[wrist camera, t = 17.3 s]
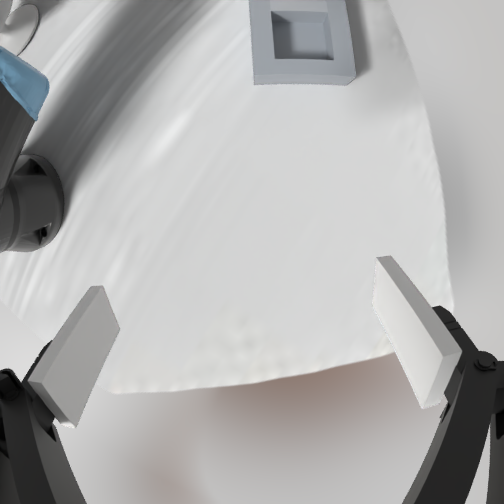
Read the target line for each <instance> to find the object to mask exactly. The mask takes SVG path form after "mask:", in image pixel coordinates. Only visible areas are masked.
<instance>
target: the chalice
mask: <svg viewBox="0 0 504 504" xmlns="http://www.w3.org/2000/svg"><path fill="white" fill-rule="evenodd" d="M12 1H13V0H0V46H2V47H3V48H5V49H7V50H8V51H10V52H11V53H13V54H14V55H16V56H17V55H18V54H19V53H21V51H22V50H23V49H24V48H25V47H26V45H27V44H28V42H29V41H30V39H31V38H32V36H33V34H34V32H35V29H36V27H37V24H38V19H39V12H38V9H37V7H36V6H34V5H32V4H27V5H23V6H21V7H19V8H18V9H16V10H15V11H13V12H12V13H11V14H10V15H9V13H10V10H11V6H12ZM8 15H9V16H8Z"/></svg>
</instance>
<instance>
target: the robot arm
mask: <svg viewBox="0 0 504 504" xmlns="http://www.w3.org/2000/svg"><path fill="white" fill-rule="evenodd" d="M48 92H49V81H48V79H47V77H46V76H45V75H44V74H42V73H41V72H40V71H38V70H37V69H36V68H34V67H33V66H31V65H30V64H28V63H27V62H25V61H24V60H22V59H21V58H19V57H18V56H16V55H14V54H13V53H11V52H10V51H8V50H7V49H5V48H3V47H2V46H0V253H1V252H3V251H17V252H31V251H35V250H37V249H40V248H42V247H44V246H46V245H47V244H48V243H50V242H51V241H52V240H53V238H54V237H55V235H56V234H57V232H58V230H59V228H60V225H61V222H62V217H63V210H64V197H63V190H62V186H61V182H60V179H59V177H58V175H57V173H56V171H55V169H54V168H53V167H52V165H51V164H50V163H49V162H48V161H47V160H45V159H44V158H42V157H40V156H37V155H20V153H21V151H22V148H23V146H24V144H25V142H26V139H27V137H28V135H29V133H30V131H31V129H32V126H33V124H34V122H35V121H37V120H38V114H39V111H40V109H41V107H42V105H43V103H44V101H45V99H46V97H47V95H48ZM19 155H20V156H19ZM372 307H373V309H374V311H375V313H376V315H377V317H378V319H379V321H380V323H381V325H382V327H383V329H384V331H385V333H386V334H387V336H388V338H389V340H390V342H391V344H392V346H393V349H394V351H395V353H396V355H397V357H398V359H399V361H400V363H401V365H402V367H403V369H404V371H405V373H406V376H407V378H408V380H409V382H410V384H411V386H412V389H413V391H414V393H415V395H416V397H417V399H418V402H419V404H420V406H421V409H425V408H428V407H431V406H434V405H437V404H439V403H440V401H441V399H442V397H443V395H444V394H445V396H446V398H447V400H448V403H447V405H446V407H445V409H444V411H443V412H442V414H441V416H440V418H441V421H440V423H439V426H438V428H437V431H436V433H435V436H434V438H433V441H432V443H431V446H430V448H429V450H428V453H427V455H426V457H425V459H424V461H423V464H422V466H421V468H420V470H419V472H418V474H417V477H416V478H415V480H414V482H413V484H412V486H411V488H410V490H409V492H408V494H407V496H406V497H405V499H404V501H403V503H402V504H465V501H466V499H467V496H468V494H469V491H470V488H471V486H472V483H473V480H474V477H475V474H476V471H477V468H478V465H479V462H480V459H481V455H482V452H483V448H484V445H485V441H486V437H487V433H488V429H489V425H490V467H489V481H488V492H487V501H486V504H504V361H497V359H496V358H495V357H494V356H493V355H492V354H490V353H488V352H485V351H478V349H477V348H476V346H475V345H474V343H473V342H472V341H471V339H470V338H469V337H468V335H467V334H466V333H465V331H464V330H463V329H462V328H461V326H460V325H459V323H458V322H456V319H455V318H454V317H453V315H452V314H451V313H450V312H449V311H448V310H446V309H445V308H443V307H442V306H436V307H431V306H430V305H429V303H428V302H427V301H426V299H425V298H424V297H423V295H422V294H421V293H420V291H419V290H418V289H417V288H416V286H415V285H414V284H413V282H412V281H411V280H410V279H409V277H408V276H407V275H406V274H405V272H404V271H403V270H402V269H401V267H400V266H399V265H398V264H397V262H396V261H395V260H394V259H393V258H392V256H384V257H376V267H375V279H374V290H373V300H372ZM119 331H120V327H119V325H118V322H117V320H116V317H115V315H114V313H113V310H112V308H111V305H110V303H109V300H108V297H107V295H106V292H105V289H104V287H103V286H92V287H90V288H89V290H88V291H87V292H86V294H85V295H84V296H83V298H82V299H81V300H80V302H79V303H78V305H77V306H76V307H75V309H74V310H73V312H72V313H71V314H70V316H69V317H68V319H67V320H66V322H65V323H64V325H63V326H62V327H61V329H60V330H59V332H58V333H57V335H56V336H55V338H54V339H53V340H51V341H50V342H49V343H48V344H47V345H46V346H44V348H43V349H42V350H41V352H40V354H39V357H37V358H36V360H35V363H33V365H32V366H31V368H30V369H29V371H28V372H27V374H26V376H25V377H24V379H23V381H22V382H20V380H19V379H18V378H17V376H16V375H15V373H14V372H13V371H12V370H11V369H3V370H0V504H87V503H86V501H85V499H84V497H83V495H82V493H81V490H80V489H79V486H78V484H77V481H76V479H75V477H74V475H73V472H72V470H71V467H70V465H69V462H68V460H67V457H66V454H65V452H64V449H63V446H62V444H61V441H60V438H59V435H58V432H57V429H56V427H55V425H54V424H53V420H54V418H56V419H57V420H58V421H59V422H60V424H61V425H62V426H66V427H71V428H76V427H77V425H78V422H79V420H80V417H81V415H82V413H83V410H84V408H85V405H86V403H87V401H88V398H89V396H90V394H91V391H92V389H93V387H94V385H95V382H96V380H97V378H98V376H99V373H100V371H101V369H102V367H103V365H104V362H105V360H106V358H107V356H108V354H109V352H110V350H111V348H112V345H113V343H114V341H115V339H116V337H117V335H118V333H119Z"/></svg>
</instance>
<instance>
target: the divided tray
mask: <svg viewBox="0 0 504 504" xmlns="http://www.w3.org/2000/svg"><path fill="white" fill-rule="evenodd" d="M249 11H250V26H251V42H252V58H253V74H254V85H264V84H325V85H347V84H349V83H350V82H351V81H352V80H353V79H354V78H356V70H355V61H354V54H353V46H352V39H351V33H350V26H349V20H348V14H347V9H346V3H345V0H249Z"/></svg>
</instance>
